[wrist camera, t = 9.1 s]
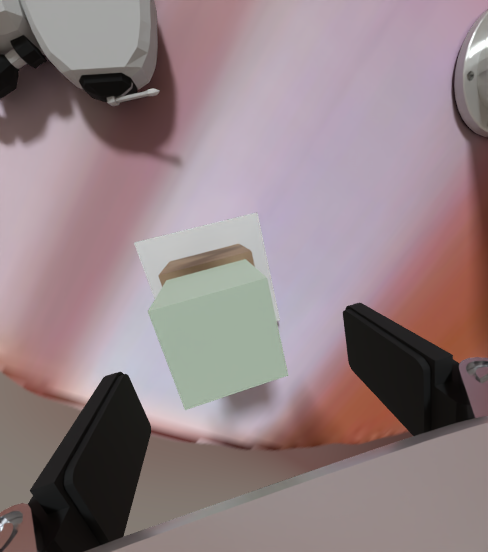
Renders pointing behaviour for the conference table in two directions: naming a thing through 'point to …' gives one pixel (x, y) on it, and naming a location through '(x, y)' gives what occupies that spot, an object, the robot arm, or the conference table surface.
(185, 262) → the walnut block
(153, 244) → the build plate
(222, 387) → the green block
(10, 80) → the robot toy
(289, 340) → the conference table surface
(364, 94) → the conference table surface
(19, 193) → the conference table surface
